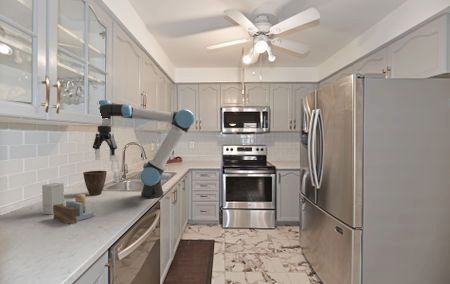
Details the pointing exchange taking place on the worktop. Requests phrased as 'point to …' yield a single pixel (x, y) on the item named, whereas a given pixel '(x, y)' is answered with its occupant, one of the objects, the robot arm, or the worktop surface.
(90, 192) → the plant pot
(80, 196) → the dowel
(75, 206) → the fork block
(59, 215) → the board
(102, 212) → the worktop surface
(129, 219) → the worktop surface
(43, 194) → the skincare box
